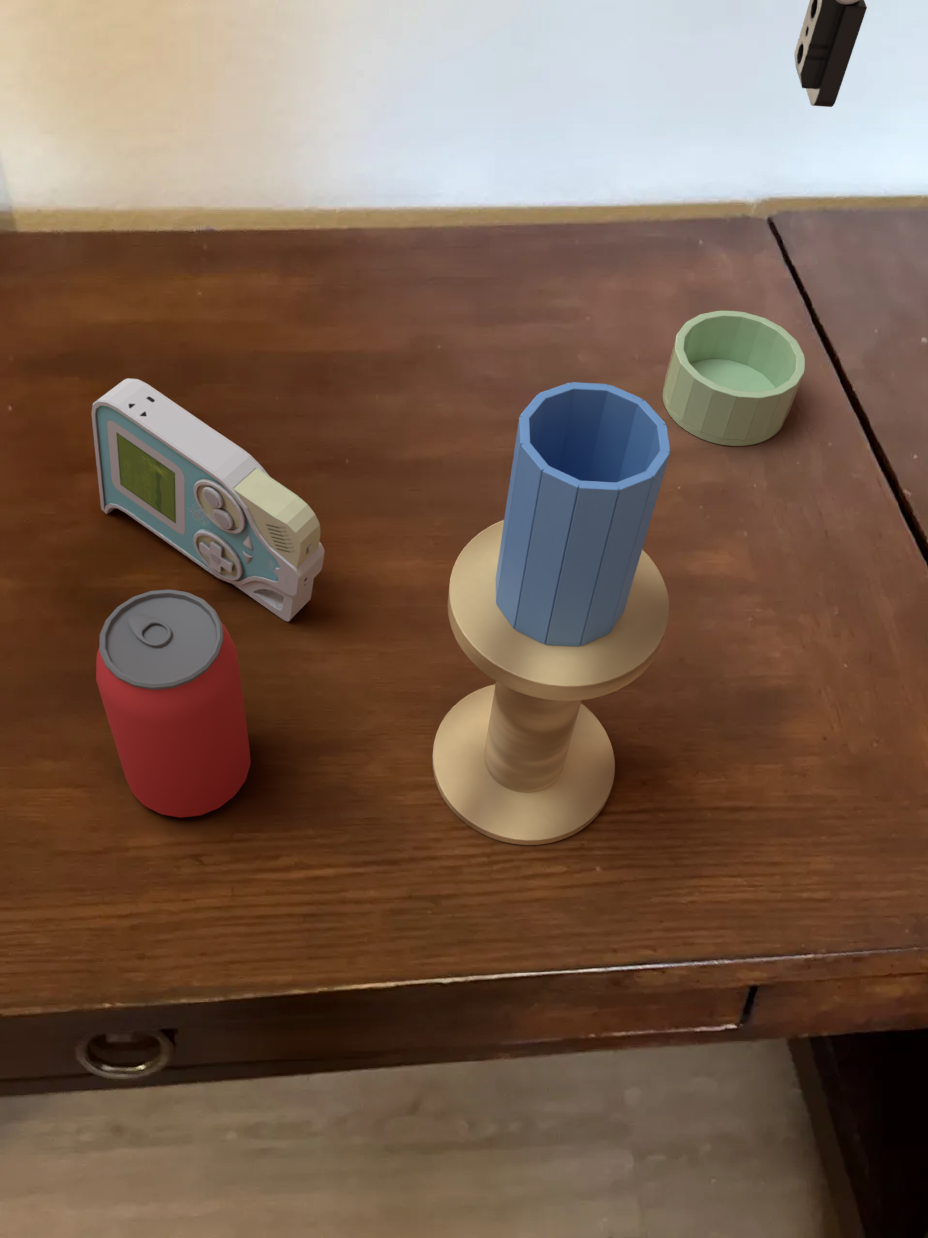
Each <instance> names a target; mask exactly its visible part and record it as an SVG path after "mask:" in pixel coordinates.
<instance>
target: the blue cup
mask: <svg viewBox="0 0 928 1238" xmlns="http://www.w3.org/2000/svg"><path fill="white" fill-rule="evenodd" d="M514 443H515V444H514V449H513V450H514V451H513V456H512V464H511V471H510V477H509V484H508V490H507V497H506V504H505V511H504V517H503V518H504V519H503V520H504V525H503V532H502V538H501V545H500V552H499V559H498V566H497V572H496V604H497V606H498V608H499V609H500V610H501V612H502V613H503V614H504V616H505V617H506V619H507V620H508V621H509V623H510V624H511V626H512V627H513V628H515V630H516V631H518V632H520V633H522V634H524V635H526V636H528V637H530V638H532V639H534V640H536V641H538V642H540V643H542V644H545V643H546V645H557V646H583V645H585V644H587V643H589V642H592V641H594V640H596V639H599V638H601V637H603V636H605V635H608V634H609V633H610V632H611V631H612V629H613V628H614V626H615V625H616V623H617V622H618V620H619V618H620V617H621V615H622V614H623V612H624V610H625V607H626V603H627V600H628V596H629V593H630V589H631V586H632V583H633V579H634V576H635V572H636V569H637V565H638V562H639V559H640V555H641V552H642V550H643V549H644V544H645V541H646V537H647V535H648V531H649V527H650V524H651V520H652V517H653V514H654V511H655V508H656V503H657V501H658V496H659V493H660V490H661V487H662V482H663V479H664V476H665V473H666V469H667V465H668V463H669V459H670V455H671V446H670V438H669V430H668V425H667V424H666V422H665V420H664V419H662V417H661V416H660V415H659V413H657V412H656V411H655V410H654V408H653V407H652V406H651V405H650V404H649V403H648V402H647V401H646V400H645V399H643V398H642V397H640V396H637V395H635V394H633V393H630V392H628V391H626V390H624V389H621V388H620V387H617V386H615V385H613V384H608V383H597V382H596V383H595V382H593V383H592V382H578V381H576V382H575V381H571V382H567V383H563V384H561V385H559V386H555V387H553V388H549V389H547V390H543V391H541V392H539V393H538V394H536V395H535V397H534V398H533V399H532V400H531V402H530V403H529V404H528V405H527V406H526V407H525V408H524V410H523V411H522V413H521V414H520V415H519V417H518V422H517V430H516V437H515V442H514Z"/></svg>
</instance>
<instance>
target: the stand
mask: <svg viewBox="0 0 928 1238" xmlns="http://www.w3.org/2000/svg"><path fill="white" fill-rule="evenodd" d="M503 525H504V519H502V520H500V521H498V522H496V523H494V524H492V525H490V526H488V527H487V528H484V529H483V530H482V531H480V532H479V533H478V534H476V536H474V537H473V538H472V539H471V540H470V541H469V542H468V543H467V544H466V546H464V548H463V549H462V550H461V552H460V553H459V555H458V556H457V558H456V560H455V562H454V565H453V567H452V570H451V573H450V577H449V584H448V585H449V587H448V596H447V616H448V621H449V626H450V628H451V631H452V633H453V635H454V636H453V637H454V639H455V640H456V642H457V644H458V645H459V647H460V649H461V650H462V652H463V653H464V654H465V655H466V657H467V658H468V659H469V661H471V662H472V663H473V664H474V666H475V667H477V669H479V670H480V671H481V672H483V674H485V675H487V676H488V677H489V678H490V679H492V680H493V681H495V683H494V684H491V685H487V686H484V687H482V688H479V689H476V690H475V691H473V692H471V693H468V694H467V695H466V696H464V697H463V698H462V699H460V700H459V701H457V702H456V704H454V706H452V707H451V708H450V710H449V711H448V712H447V713H446V714H445V716H444V717H443V719H442V721H441V722H440V724H439V726H438V728H437V731H436V732H435V737H434V740H433V745H432V746H433V747H432V748H433V749H432V756H431V760H432V761H431V762H432V763H431V764H432V772H433V773H432V774H433V778H434V782H435V784H436V786H437V790H438V791H439V794H440V795H441V797H442V799H443V801H444V802H445V803H446V805H447V807H448V808H449V810H451V811H452V812H453V814H455V815H456V817H457V818H458V819H459V820H460V821H462V822H463V823H464V824H466V825H467V826H468V827H470V828H471V829H473V830H474V831H476V832H477V833H480V834H482V835H483V836H486V837H488V838H490V839H493V840H496V841H498V842H501V843H502V842H503V843H506V844H507V843H508V844H511V845H519V846H521V845H522V846H539V845H547V844H551V843H555V842H559V841H562V840H564V839H567V838H569V837H572V836H574V835H575V834H577V833H579V832H580V831H582V830H583V829H584V828H586V827H588V826H589V825H590V824H592V821H594V820H595V819H596V817H598V816H599V814H600V813H601V811H602V810H603V808H604V807H605V806H606V803H607V801H608V799H609V797H610V794H611V791H612V788H613V784H614V781H615V780H614V779H615V776H616V775H615V774H616V760H615V754H614V749H613V745H612V743H611V740H610V738H609V736H608V733H607V731H606V729H605V728H604V726H603V725H602V723H601V722H600V720H599V719H598V718H597V717H596V715H595V714H594V713H593V712H592V711H591V710H590V709H589V708H588V707H587V706H586V705H584V704H583V703H582V701H585V700H591V699H595V698H599V697H604V696H607V695H609V694H611V693H614V692H617V691H619V690H621V689H622V688H625V687H626V686H628V685H630V684H631V683H633V682H634V681H635V680H637V678H639V677H640V676H641V675H642V674H643V673H644V672H645V671H646V670H647V669H648V668H649V667H650V665H651V664H652V663H653V661H654V660H655V658H656V656H657V654H658V653H659V650H660V648H661V646H662V643H663V641H664V637H665V634H666V630H667V628H668V625H669V619H670V598H669V594H668V590H667V589H668V588H667V586H666V584H665V581H664V578H663V575H662V574H661V572H660V570H659V568H658V567H657V565H656V564H655V563H654V560H653V559H652V558H651V556H649V554H648V553H646V551H644V549H642V552H641V555H640V559H639V562H638V565H637V569H636V572H635V576H634V579H633V583H632V586H631V589H630V593H629V596H628V600H627V603H626V607H625V610H624V612H623V614H622V615H621V617H620V618H619V620H618V622H617V623H616V625H615V626H614V628H613V629H612V631H611V632H610V633H609V634H608V635H605V636H603V637H601V638H599V639H596V640H594V641H592V642H589V643H587V644H585V645H583V646H557V645H546V643H545V644H542V643H540V642H538V641H536V640H534V639H532V638H530V637H528V636H526V635H524V634H522V633H520V632H518V631H516V630H515V628H513V627H512V626H511V624H510V623H509V621H508V620H507V619H506V617H505V616H504V614H503V613H502V612H501V610H500V609H499V608H498V606H497V604H496V572H497V566H498V559H499V552H500V545H501V538H502V532H503Z"/></svg>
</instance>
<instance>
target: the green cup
mask: <svg viewBox="0 0 928 1238" xmlns="http://www.w3.org/2000/svg"><path fill="white" fill-rule="evenodd" d="M805 369H806V357H805V354H804V352H803V350H802V348H801V346H800V344H799V341H798V340H797V339H796V338H795V337H793V336H792V335H791V333H789V332H788V331H787V329H785V328H784V327H782V326H780V324H777V323H775V322H773V321H772V320H769V319H768V318H766V317H763V316H759V315H756V314H752V313H749V312H745V311H739V310H738V311H737V310H715V311H710V312H705V313H700V314H698V315H696V316H694V317H693V318H690V319H689V320H687V321H685V323H684V324H683V325H682V327H680V329H679V331H678V332H677V333H676V335H675V339H674V343H673V347H672V350H671V354H670V357H669V361H668V365H667V369H666V372H665V376H664V383H663V387H662V391H661V392H662V400H663V405H664V408H665V410H666V411H667V413H668V414H669V416H670V417H671V418H672V420H673V421H674V422H675V423H676V424H677V425H678V426H679V427H681V428H682V429H683V430H685V431H686V432H687V433H689V434H691V435H692V436H694V437H696V438H699V439H701V440H703V441H705V442H709V443H712V444H715V445H721V446H729V447H744V446H746V447H747V446H752V445H757V444H760V443H762V442H765V441H767V440H769V439H770V438H773V436H775V435H776V434H777V433H778V432H780V430H781V429H782V427H783V426H784V424H785V422H786V419H787V417H788V416H789V413H790V411H791V408H792V406H793V403H794V400H795V398H796V395H797V392H798V390H799V388H800V385H801V383H802V379H803V377H804V374H805Z"/></svg>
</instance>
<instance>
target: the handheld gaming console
mask: <svg viewBox="0 0 928 1238" xmlns="http://www.w3.org/2000/svg"><path fill="white" fill-rule="evenodd" d="M90 414H91V422H92V424H91V425H92V433H93V443H94V444H93V445H94V452H95V463H96V473H97V483H98V492H99V501H100V502H99V503H100V509H101V511H102V512H103V513H105V515H108V514H110V513H111V512H112V511H113V510H115V509H118V510H120V511H121V512H123V513H125V514H126V515H128V516H129V517H130V518H132V519H133V520H135V521H136V522H138V523H139V524H141V525H142V526H143V527H145V528H146V529H148V530H149V531H150V532H152V533H153V534H154V535H156V536H157V537H159V538H160V539H162V541H164V542H166V543H167V544H168V545H170V546H172V547H173V548H174V549H176V550H177V551H178V552H180V553H181V554H182V555H184V556H185V557H187V558H188V559H190V560H191V561H192V562H194V563H195V564H197V565H198V566H200V567H201V568H202V569H204V570H205V571H206V572H208V573H210V575H213V576H214V577H215V578H217V579H219V580H221V581H223V582H226V583H229V584H232V586H234V587H236V588H237V589H239V590H240V591H242V592H243V593H244V594H246V595H247V596H249V597H250V598H251V599H253V600H254V601H256V602H257V603H259V604H260V605H261V606H263V607H264V608H266V609H267V610H269V611H270V612H271V613H272V614H274V615H275V616H277V617H278V618H280V619H281V620H283V621H284V622H290V621H291V620H292V619H293V618H294V617H295V616H296V615H297V614H298V613H299V612H300V611H301V609H303V608H304V606H305V605H307V603H309V601H311V598H312V594H313V586H314V580H315V578H316V577H317V576H318V575H319V574H320V573H321V571H322V570H323V565H324V559H325V553H326V551H325V548H324V546H323V544H322V542H320V539H321V533H322V532H321V524H320V521H319V520H318V517H317V515H316V513H315V512H314V510H313V509H312V508H311V507H310V505H309V504H308V503H307V502H305V500H303V498H301V497H299V495H298V494H296V493H294V492H293V491H292V490H290V489H289V488H287V487H286V486H284V485H283V484H281V483H280V482H279V481H277V480H275V479H274V478H273V477H271V476H270V475H269V474H268V472H267V471H266V470H265V468H264V467H263V466H262V465H261V464H260V463H259V462H258V461H257V460H256V458H254V457H253V456H252V455H251V454H250V453H249V452H248V451H246V450H245V449H244V448H242V447H241V446H239V445H238V444H236V443H235V442H233V441H232V440H230V439H229V438H227V437H226V436H224V435H223V434H221V433H219V432H218V431H217V430H215V429H214V428H212V427H210V426H209V425H208V424H207V423H205V422H203V421H202V420H201V419H199V418H198V417H196V416H195V415H193V414H192V413H191V412H189V411H188V410H186V409H185V408H184V407H182V406H180V405H179V404H178V403H176V402H174V401H173V400H172V399H170V397H169V398H168V397H167V396H165V395H164V394H163V393H162V392H160V391H158V390H157V389H156V388H154V387H153V386H151V385H150V384H149V383H146V382H145V381H143V380H140V379H138V378H125V379H123V380H122V381H120V382H119V383H118V384H117V385H115V386H114V387H113V388H111V389H110V390H109V391H107V392H106V393H105V394H103V395H102V396H100V397H99V398H98V399H97V400H95V401H94V402H93V403H92V406H91V411H90Z"/></svg>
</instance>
